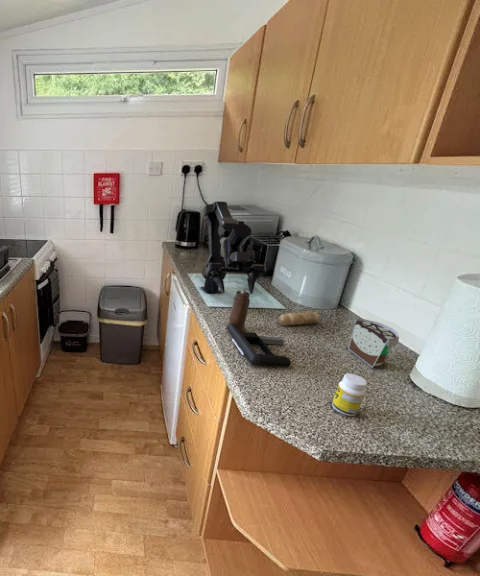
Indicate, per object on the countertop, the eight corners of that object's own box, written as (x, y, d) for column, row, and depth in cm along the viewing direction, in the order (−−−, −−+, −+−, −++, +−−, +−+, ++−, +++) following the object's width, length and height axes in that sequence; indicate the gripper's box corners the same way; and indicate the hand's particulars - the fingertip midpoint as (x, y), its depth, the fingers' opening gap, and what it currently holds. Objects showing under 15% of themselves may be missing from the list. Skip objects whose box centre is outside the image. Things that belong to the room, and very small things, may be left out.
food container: (399, 371, 85) (414, 340, 82) (376, 371, 85) (390, 339, 82) (364, 346, 97) (376, 318, 93) (344, 346, 97) (355, 317, 93)
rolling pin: (282, 328, 107) (285, 317, 106) (274, 322, 111) (277, 312, 109) (320, 324, 110) (323, 314, 108) (311, 319, 113) (314, 309, 112)
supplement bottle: (334, 398, 75) (345, 369, 72) (358, 409, 72) (371, 379, 69) (329, 408, 72) (340, 378, 69) (354, 420, 69) (367, 389, 66)
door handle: (272, 326, 103) (223, 322, 103) (308, 362, 85) (249, 357, 85) (269, 334, 105) (221, 330, 105) (304, 372, 86) (245, 367, 86)
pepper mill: (225, 325, 108) (232, 287, 103) (238, 324, 109) (246, 286, 104) (233, 332, 104) (241, 292, 99) (246, 331, 105) (255, 292, 99)
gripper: (212, 240, 106) (216, 282, 100) (270, 241, 105) (277, 284, 98) (203, 256, 116) (206, 295, 110) (255, 258, 115) (261, 297, 109)
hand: (237, 293), depth 106 cm, fingers open, 9 cm apart
